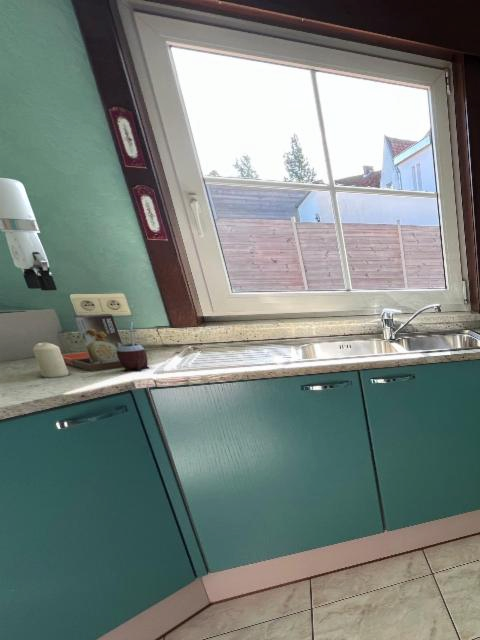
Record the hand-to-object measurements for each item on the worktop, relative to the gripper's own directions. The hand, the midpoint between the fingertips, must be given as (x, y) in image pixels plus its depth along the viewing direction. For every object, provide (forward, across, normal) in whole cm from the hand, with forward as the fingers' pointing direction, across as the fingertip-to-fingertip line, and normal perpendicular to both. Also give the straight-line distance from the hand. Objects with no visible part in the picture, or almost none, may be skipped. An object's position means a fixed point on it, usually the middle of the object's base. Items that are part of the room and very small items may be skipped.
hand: (42, 289), depth 147 cm
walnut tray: (+25, -4, +11) cm, 28 cm away
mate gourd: (+25, +10, +12) cm, 30 cm away
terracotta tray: (+25, -18, +11) cm, 33 cm away
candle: (+25, +1, -4) cm, 26 cm away
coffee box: (+25, -4, +11) cm, 27 cm away
